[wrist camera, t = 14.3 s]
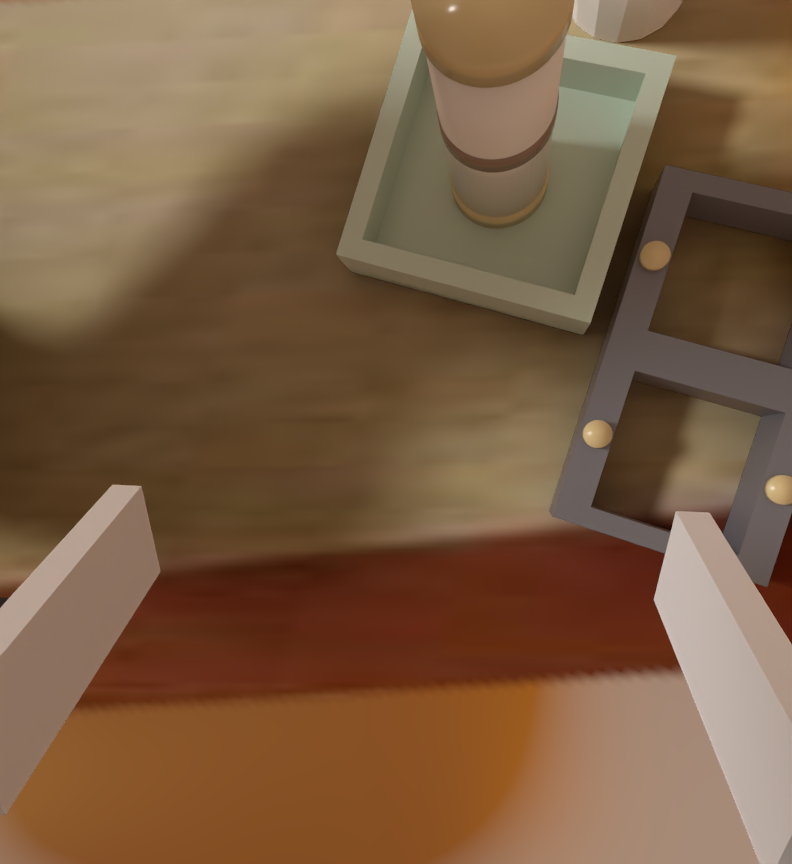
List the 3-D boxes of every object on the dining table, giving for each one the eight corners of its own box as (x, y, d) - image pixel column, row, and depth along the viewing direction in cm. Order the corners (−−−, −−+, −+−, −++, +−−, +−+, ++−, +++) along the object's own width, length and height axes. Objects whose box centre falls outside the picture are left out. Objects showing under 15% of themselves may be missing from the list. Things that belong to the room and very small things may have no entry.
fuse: (440, 216, 31) (390, 47, 18) (467, 125, 30) (437, -111, 18) (531, 238, 30) (549, 77, 17) (560, 145, 30) (599, -88, 17)
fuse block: (549, 511, 30) (553, 517, 27) (652, 189, 29) (668, 160, 27) (744, 575, 28) (771, 589, 25) (856, 235, 28) (896, 210, 25)
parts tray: (350, 271, 32) (335, 254, 29) (421, 45, 32) (413, 6, 29) (583, 335, 30) (590, 323, 27) (660, 92, 29) (676, 55, 27)
